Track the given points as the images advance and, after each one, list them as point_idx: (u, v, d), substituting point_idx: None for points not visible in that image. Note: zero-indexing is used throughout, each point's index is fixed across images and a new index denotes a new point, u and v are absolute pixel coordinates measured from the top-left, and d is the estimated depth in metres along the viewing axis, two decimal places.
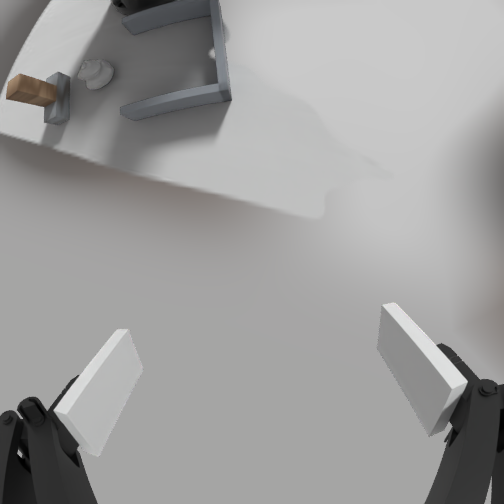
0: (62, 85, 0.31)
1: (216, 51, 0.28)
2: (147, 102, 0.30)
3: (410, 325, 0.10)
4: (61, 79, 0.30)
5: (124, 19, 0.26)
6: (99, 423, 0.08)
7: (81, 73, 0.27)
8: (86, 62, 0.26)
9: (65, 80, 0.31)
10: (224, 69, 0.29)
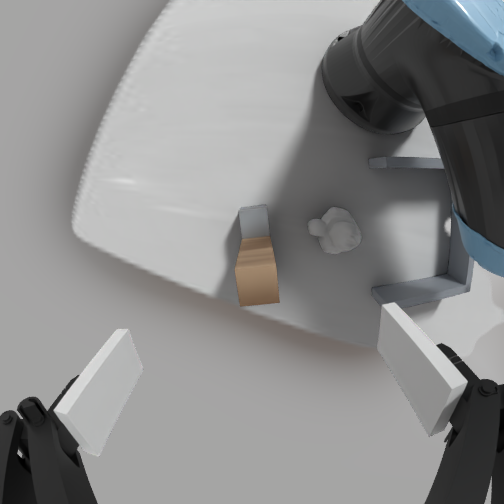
0: None
1: None
2: (414, 301, 0.30)
3: (410, 325, 0.10)
4: None
5: (389, 161, 0.26)
6: (99, 423, 0.08)
7: (342, 248, 0.27)
8: (354, 234, 0.26)
9: None
10: (472, 271, 0.29)
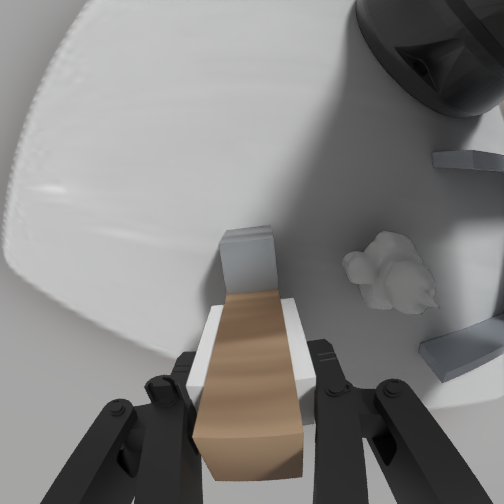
0: None
1: None
2: (476, 363, 0.16)
3: (293, 319, 0.12)
4: None
5: (476, 158, 0.12)
6: None
7: (407, 311, 0.13)
8: (431, 289, 0.13)
9: None
10: None
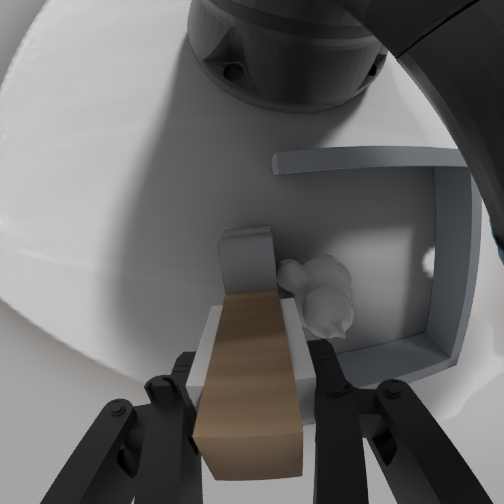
0: None
1: (464, 307, 0.16)
2: None
3: (293, 319, 0.12)
4: None
5: (284, 160, 0.14)
6: None
7: (315, 331, 0.15)
8: (345, 320, 0.15)
9: None
10: (463, 337, 0.17)
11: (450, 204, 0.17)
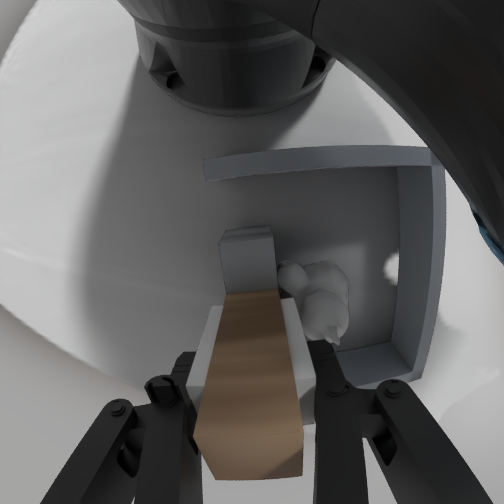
0: None
1: (426, 318, 0.17)
2: None
3: (293, 319, 0.12)
4: None
5: (211, 167, 0.14)
6: None
7: (310, 334, 0.15)
8: (340, 327, 0.15)
9: None
10: (427, 350, 0.17)
11: (412, 207, 0.17)
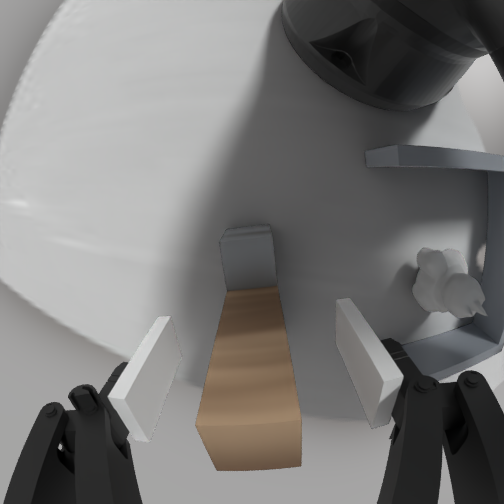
0: None
1: None
2: None
3: (358, 319, 0.11)
4: None
5: (404, 154, 0.13)
6: (150, 408, 0.09)
7: (461, 310, 0.14)
8: (482, 301, 0.13)
9: None
10: None
11: (502, 205, 0.16)
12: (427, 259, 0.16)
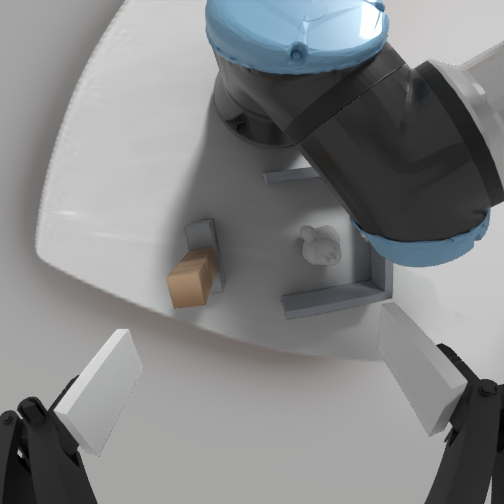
0: (214, 240, 0.35)
1: None
2: (318, 309, 0.34)
3: (410, 325, 0.10)
4: (211, 232, 0.34)
5: (269, 177, 0.30)
6: (99, 423, 0.08)
7: (321, 258, 0.31)
8: (336, 253, 0.30)
9: (213, 229, 0.35)
10: (391, 277, 0.33)
11: None
12: (301, 231, 0.33)
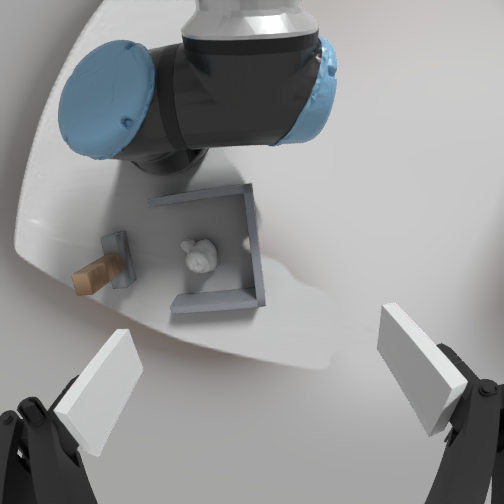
0: (122, 248, 0.42)
1: (254, 268, 0.40)
2: (195, 308, 0.42)
3: (410, 325, 0.10)
4: (119, 242, 0.41)
5: (151, 202, 0.38)
6: (99, 423, 0.08)
7: (189, 267, 0.39)
8: (199, 264, 0.38)
9: (123, 239, 0.43)
10: (262, 287, 0.41)
11: None
12: (181, 244, 0.41)
